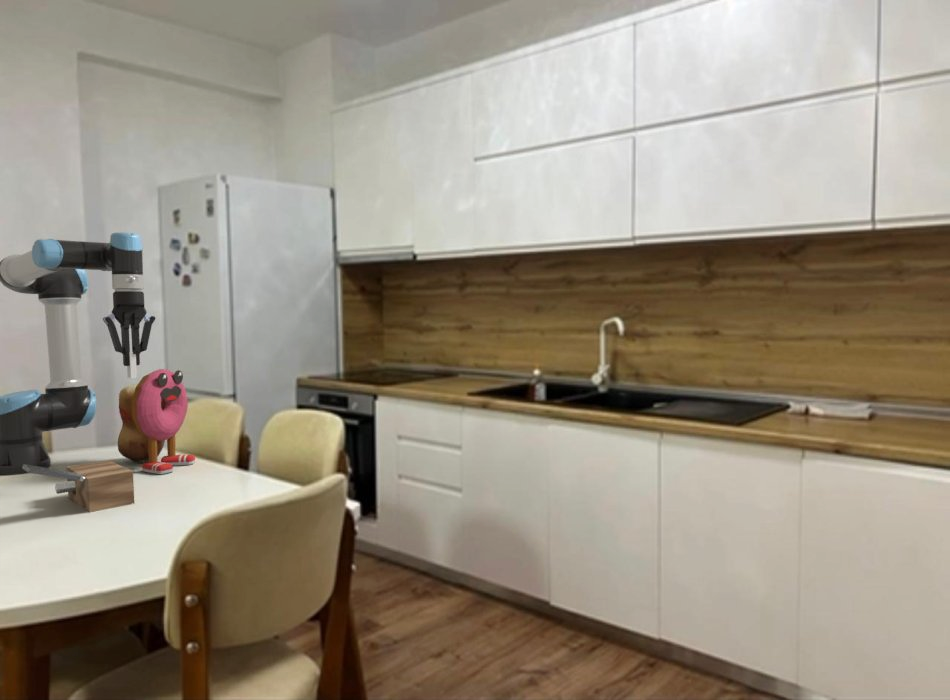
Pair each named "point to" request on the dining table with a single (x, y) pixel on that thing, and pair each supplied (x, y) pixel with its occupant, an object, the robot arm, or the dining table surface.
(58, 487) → the pin
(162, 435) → the toy
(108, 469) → the block
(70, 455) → the dining table surface
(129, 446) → the butternut squash
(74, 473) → the silver flat rectangular plate
